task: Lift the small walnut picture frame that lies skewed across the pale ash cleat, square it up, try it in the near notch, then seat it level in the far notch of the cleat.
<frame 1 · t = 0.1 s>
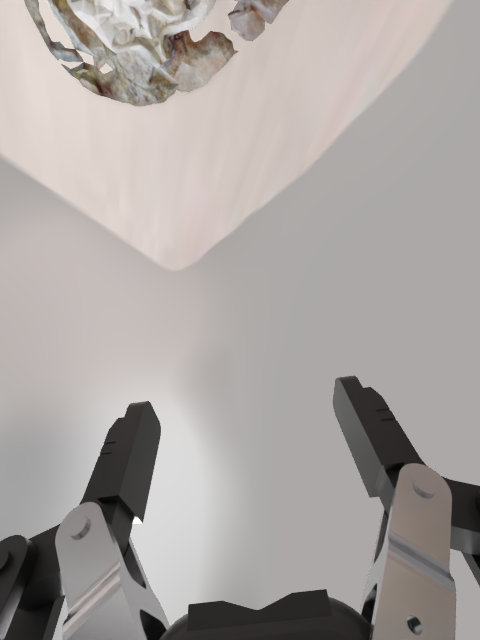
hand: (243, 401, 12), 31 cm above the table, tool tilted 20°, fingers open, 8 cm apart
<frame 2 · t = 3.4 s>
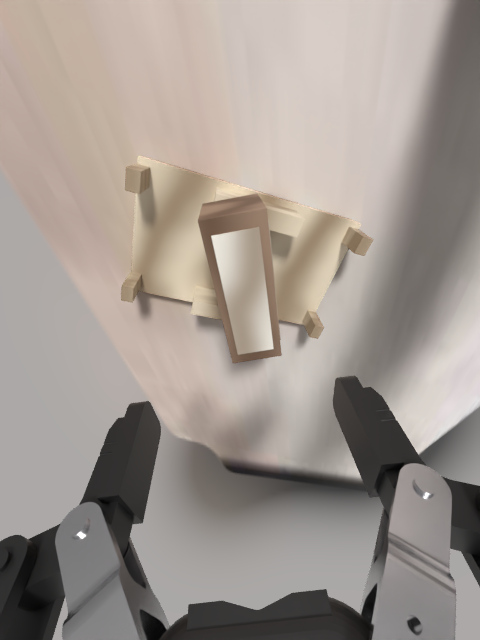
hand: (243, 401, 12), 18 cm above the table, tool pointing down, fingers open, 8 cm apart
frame: (242, 271, 23), point 4 cm above the table, touching cleat
cleat: (239, 254, 27), on the table
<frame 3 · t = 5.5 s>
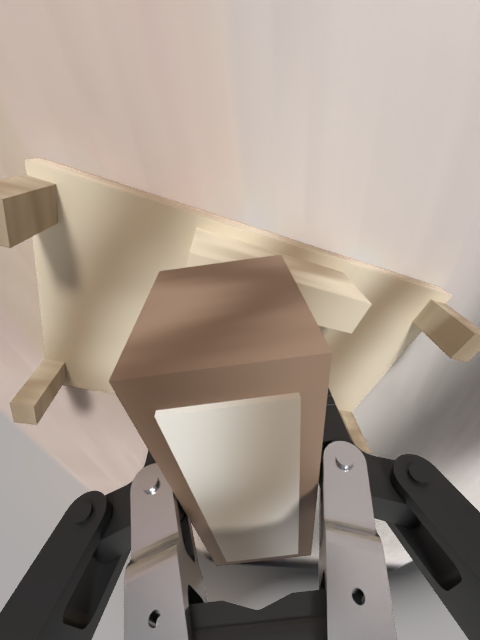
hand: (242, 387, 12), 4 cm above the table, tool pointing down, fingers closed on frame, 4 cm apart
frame: (240, 382, 12), point 4 cm above the table, touching cleat, gripper
cleat: (236, 331, 16), on the table
when the fingers open (3 cm above the table, at t = 14.5 s): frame drops 2 cm, resting on cleat.
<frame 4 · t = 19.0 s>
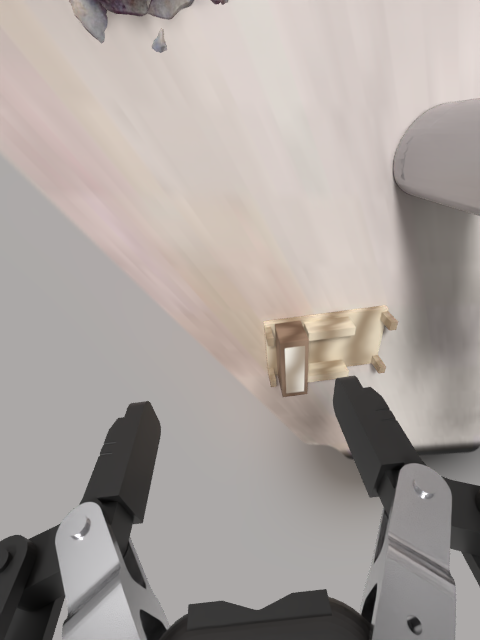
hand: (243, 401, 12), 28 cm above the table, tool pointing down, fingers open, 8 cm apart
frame: (288, 350, 46), point 1 cm above the table, touching cleat
cleat: (322, 341, 47), on the table
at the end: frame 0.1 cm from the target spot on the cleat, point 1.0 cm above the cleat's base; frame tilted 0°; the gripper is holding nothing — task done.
